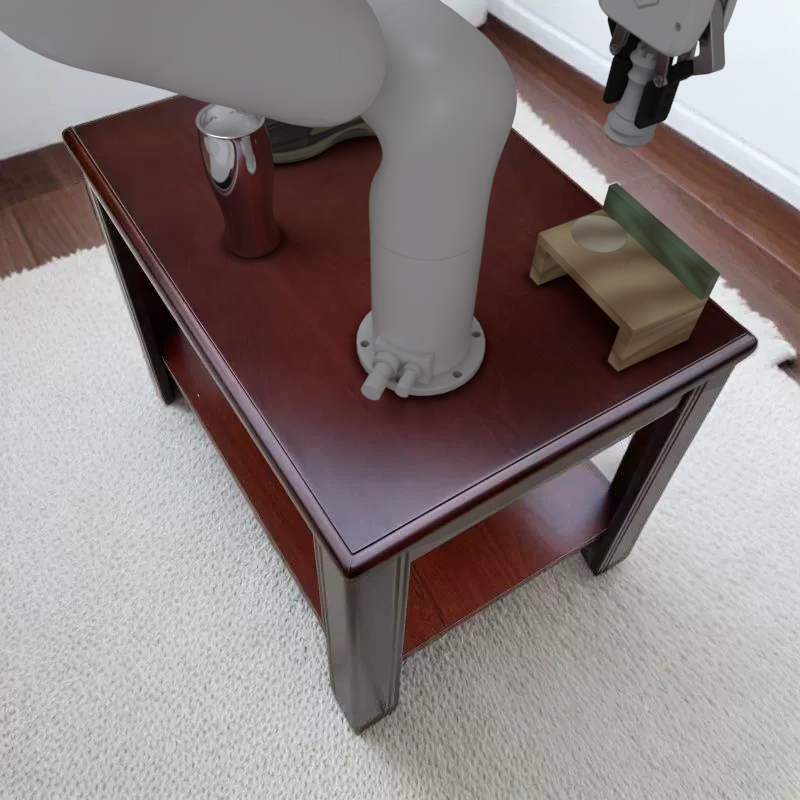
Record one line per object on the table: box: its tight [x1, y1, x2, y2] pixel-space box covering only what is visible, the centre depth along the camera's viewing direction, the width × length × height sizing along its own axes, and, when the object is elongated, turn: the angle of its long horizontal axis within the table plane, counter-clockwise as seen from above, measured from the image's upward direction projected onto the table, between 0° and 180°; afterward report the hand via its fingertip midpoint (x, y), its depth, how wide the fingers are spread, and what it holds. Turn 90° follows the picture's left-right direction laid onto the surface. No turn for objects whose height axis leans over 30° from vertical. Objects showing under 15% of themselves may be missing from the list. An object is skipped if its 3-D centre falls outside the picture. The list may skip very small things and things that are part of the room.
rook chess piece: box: [603, 41, 658, 149], centre depth 62 cm, size 4×4×8 cm
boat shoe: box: [265, 115, 377, 164], centre depth 90 cm, size 11×29×11 cm, turn 115°
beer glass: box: [195, 103, 281, 259], centre depth 75 cm, size 7×7×15 cm
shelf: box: [529, 182, 721, 372], centre depth 72 cm, size 15×9×9 cm, turn 28°
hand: (634, 109), depth 63 cm, fingers closed on rook chess piece, 3 cm apart
